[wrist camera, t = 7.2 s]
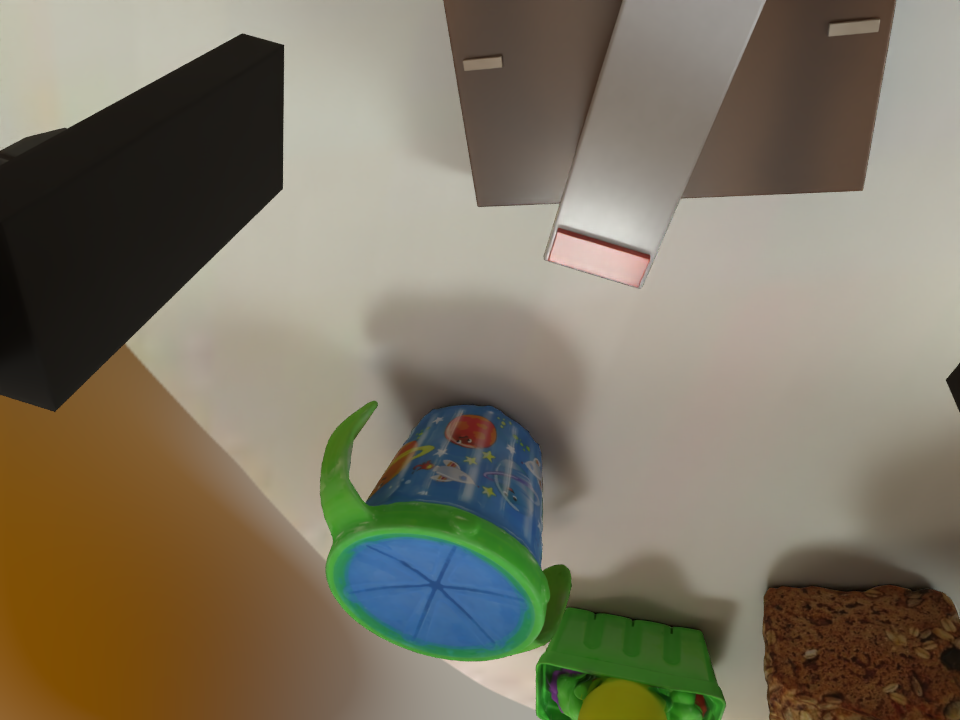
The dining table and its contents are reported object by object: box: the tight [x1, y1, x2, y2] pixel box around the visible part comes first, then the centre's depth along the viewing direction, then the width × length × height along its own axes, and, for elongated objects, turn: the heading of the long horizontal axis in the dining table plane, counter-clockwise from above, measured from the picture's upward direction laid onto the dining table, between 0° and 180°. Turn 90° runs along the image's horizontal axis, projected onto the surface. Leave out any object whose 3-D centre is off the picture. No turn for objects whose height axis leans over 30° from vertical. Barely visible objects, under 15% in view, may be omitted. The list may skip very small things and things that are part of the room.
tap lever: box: [544, 0, 766, 289], centre depth 21 cm, size 9×3×8 cm, turn 168°
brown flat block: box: [443, 0, 896, 207], centre depth 25 cm, size 14×13×3 cm
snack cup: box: [320, 401, 572, 661], centre depth 37 cm, size 16×10×10 cm
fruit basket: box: [536, 607, 726, 720], centre depth 45 cm, size 11×9×11 cm
